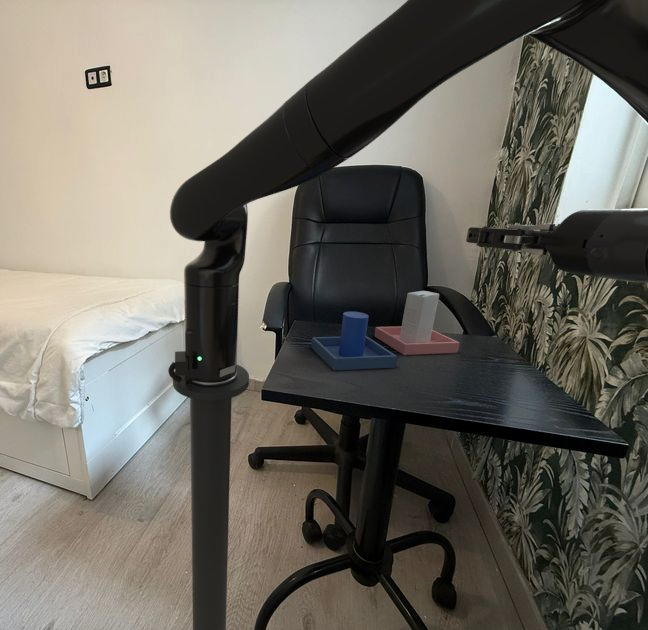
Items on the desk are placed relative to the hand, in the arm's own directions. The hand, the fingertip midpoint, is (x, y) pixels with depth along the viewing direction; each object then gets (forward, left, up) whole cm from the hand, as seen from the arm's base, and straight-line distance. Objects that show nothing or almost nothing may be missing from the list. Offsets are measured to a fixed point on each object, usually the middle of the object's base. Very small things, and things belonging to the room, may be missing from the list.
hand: (493, 235), depth 54 cm
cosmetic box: (+8, +23, -27) cm, 36 cm away
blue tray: (-11, +18, -27) cm, 34 cm away
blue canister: (-11, +18, -26) cm, 34 cm away
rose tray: (+8, +24, -27) cm, 37 cm away
